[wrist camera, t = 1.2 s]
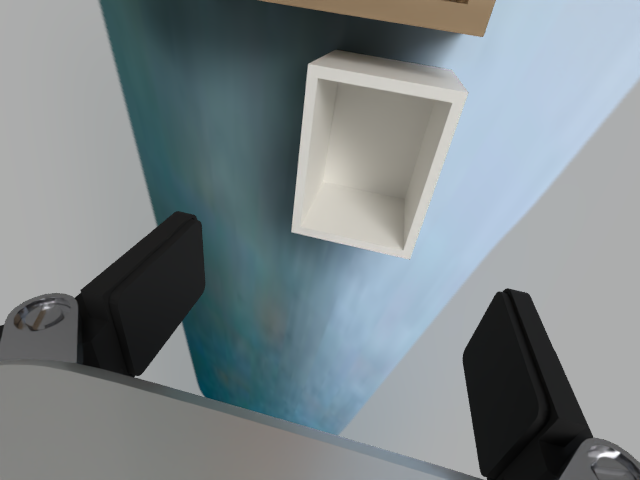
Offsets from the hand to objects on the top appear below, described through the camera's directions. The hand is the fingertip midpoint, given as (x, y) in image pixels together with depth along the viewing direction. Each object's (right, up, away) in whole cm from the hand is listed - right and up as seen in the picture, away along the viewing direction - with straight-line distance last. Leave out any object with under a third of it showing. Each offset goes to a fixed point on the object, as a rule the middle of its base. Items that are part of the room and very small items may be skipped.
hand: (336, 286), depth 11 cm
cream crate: (+3, +9, +12) cm, 15 cm away
